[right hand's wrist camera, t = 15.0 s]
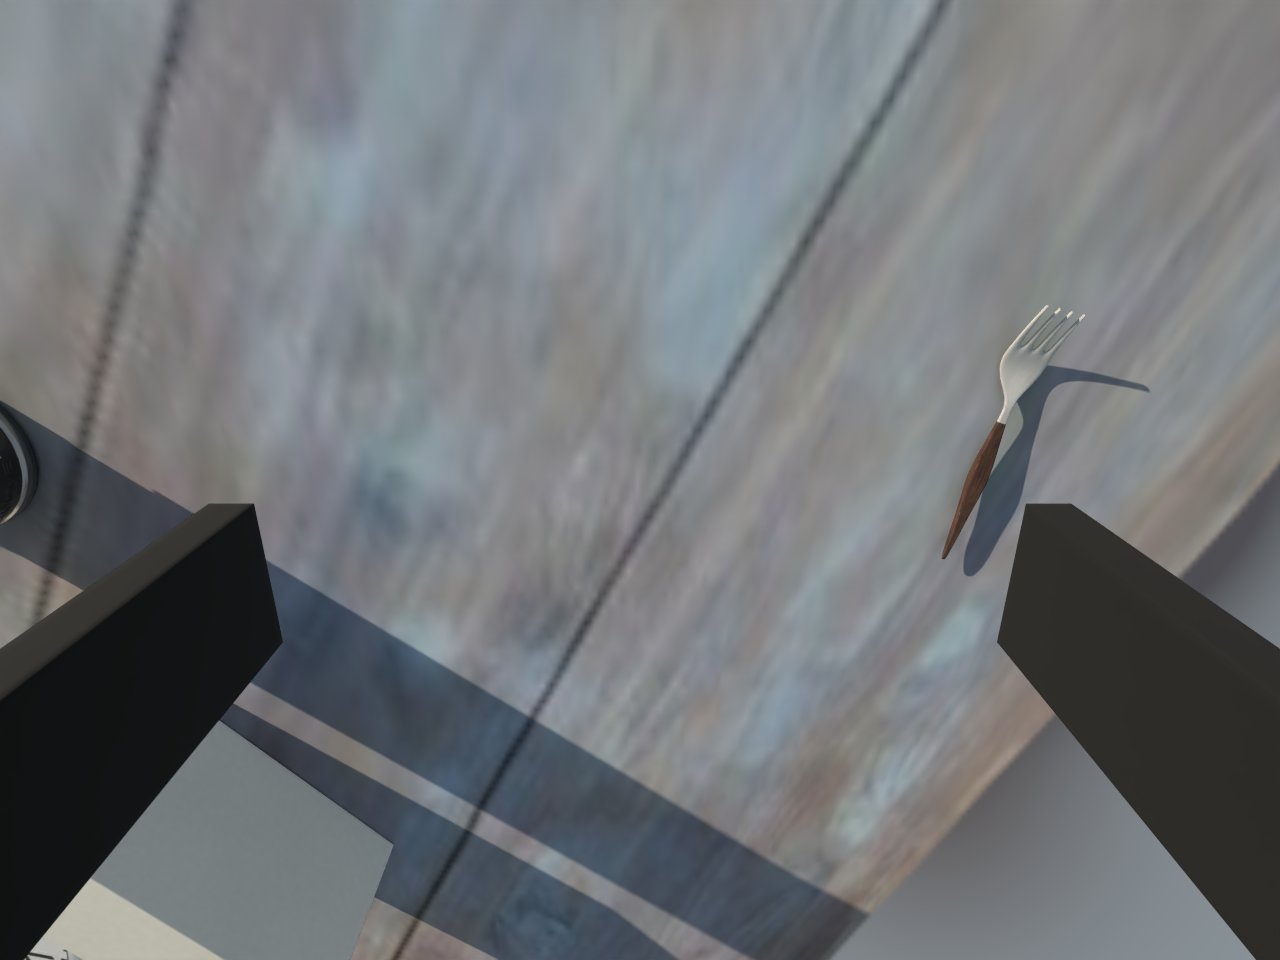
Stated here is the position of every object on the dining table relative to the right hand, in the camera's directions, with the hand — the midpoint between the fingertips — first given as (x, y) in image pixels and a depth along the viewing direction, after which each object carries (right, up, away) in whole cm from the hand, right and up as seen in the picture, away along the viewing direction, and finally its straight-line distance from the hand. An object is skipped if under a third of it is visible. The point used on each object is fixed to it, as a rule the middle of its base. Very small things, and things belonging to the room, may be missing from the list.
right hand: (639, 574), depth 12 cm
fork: (+21, +4, +30) cm, 37 cm away
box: (-30, -19, +39) cm, 53 cm away
